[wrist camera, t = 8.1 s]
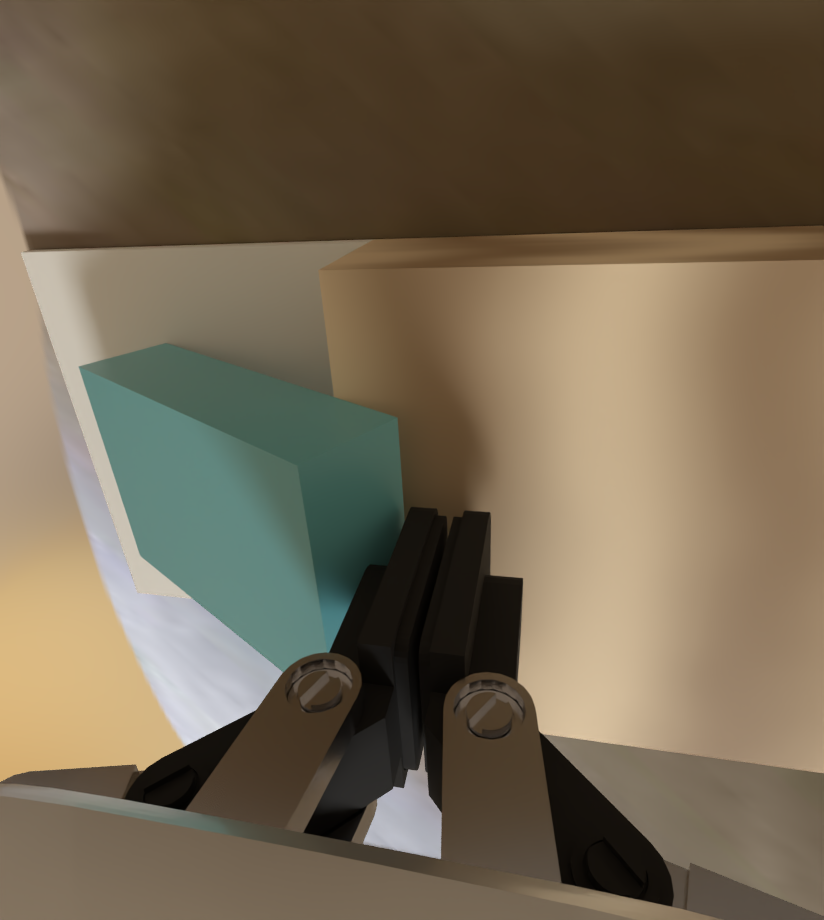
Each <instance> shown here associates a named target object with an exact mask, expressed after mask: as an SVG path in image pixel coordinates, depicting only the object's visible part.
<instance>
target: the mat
mask: <svg viewBox="0 0 824 920" xmlns="http://www.w3.org/2000/svg"><path fill="white" fill-rule="evenodd" d="M372 240H374V239H371V240H339V241H307V242H275V243H243V244H211V245H179V246H147V247H115V248H83V249H50V250H30V251H25V252H21V255H22V258H23V261H24V263H25V266H26V269H27V272H28V275H29V278H30V281H31V284H32V287H33V290H34V293H35V296H36V298H37V301H38V304H39V307H40V310H41V313H42V316H43V319H44V322H45V325H46V328H47V330H48V333H49V336H50V339H51V342H52V345H53V348H54V351H55V354H56V357H57V360H58V362H59V365H60V368H61V371H62V374H63V377H64V380H65V383H66V386H67V389H68V392H69V395H70V397H71V400H72V403H73V406H74V409H75V412H76V415H77V418H78V421H79V424H80V427H81V429H82V432H83V435H84V438H85V441H86V444H87V447H88V450H89V453H90V456H91V459H92V461H93V464H94V467H95V470H96V473H97V476H98V479H99V482H100V485H101V488H102V491H103V493H104V496H105V499H106V502H107V505H108V508H109V511H110V514H111V517H112V520H113V523H114V526H115V528H116V531H117V534H118V537H119V540H120V543H121V546H122V549H123V552H124V555H125V558H126V560H127V563H128V566H129V569H130V572H131V575H132V578H133V581H134V584H135V587H136V590H137V592H138V593H144V594H153V595H162V596H172V597H181V598H191V597H190V596H189V595H188V594H186V593H185V592H184V591H183V590H181V589H180V588H179V587H178V586H177V585H175V584H174V583H173V582H172V581H170V580H169V579H168V578H167V577H165V576H164V575H163V574H162V573H161V572H159V571H158V570H157V569H156V568H154V567H153V566H152V565H151V564H149V563H148V562H147V561H146V560H145V559H143V558H142V557H141V556H140V554H139V551H138V548H137V545H136V542H135V539H134V536H133V532H132V529H131V526H130V523H129V520H128V517H127V514H126V511H125V508H124V505H123V502H122V499H121V496H120V493H119V489H118V486H117V483H116V480H115V477H114V474H113V471H112V468H111V465H110V462H109V459H108V456H107V453H106V450H105V446H104V443H103V440H102V437H101V434H100V431H99V428H98V425H97V422H96V419H95V416H94V413H93V410H92V407H91V403H90V400H89V397H88V394H87V391H86V388H85V385H84V382H83V379H82V376H81V373H80V370H79V367H78V366H82V365H86V364H89V363H93V362H97V361H101V360H104V359H108V358H112V357H115V356H119V355H123V354H127V353H130V352H134V351H138V350H142V349H145V348H149V347H153V346H156V345H160V344H164V343H167V344H171V345H174V346H177V347H180V348H183V349H186V350H189V351H192V352H195V353H199V354H202V355H205V356H208V357H211V358H214V359H217V360H220V361H223V362H227V363H230V364H233V365H236V366H239V367H242V368H245V369H248V370H251V371H255V372H258V373H261V374H264V375H267V376H270V377H273V378H276V379H279V380H283V381H286V382H289V383H292V384H295V385H298V386H301V387H304V388H307V389H311V390H314V391H317V392H320V393H323V394H326V395H329V396H332V397H334V392H333V384H332V376H331V368H330V360H329V352H328V344H327V336H326V328H325V320H324V312H323V304H322V296H321V288H320V280H319V272H318V270H319V269H321V268H323V267H325V266H327V265H329V264H330V263H332V262H334V261H336V260H338V259H339V258H341V257H343V256H345V255H347V254H348V253H350V252H352V251H354V250H356V249H357V248H359V247H361V246H363V245H365V244H367V243H368V242H370V241H372ZM191 599H193V598H191Z"/></svg>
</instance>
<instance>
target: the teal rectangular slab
mask: <svg viewBox="0 0 824 920" xmlns="http://www.w3.org/2000/svg"><path fill="white" fill-rule="evenodd" d="M78 367H79V370H80V373H81V376H82V379H83V382H84V385H85V388H86V391H87V394H88V397H89V400H90V403H91V407H92V410H93V413H94V416H95V419H96V422H97V425H98V428H99V431H100V434H101V437H102V440H103V443H104V446H105V450H106V453H107V456H108V459H109V462H110V465H111V468H112V471H113V474H114V477H115V480H116V483H117V486H118V489H119V493H120V496H121V499H122V502H123V505H124V508H125V511H126V514H127V517H128V520H129V523H130V526H131V529H132V532H133V536H134V539H135V542H136V545H137V548H138V551H139V554H140V556H141V557H142V558H143V559H145V560H146V561H147V562H148V563H149V564H151V565H152V566H153V567H154V568H156V569H157V570H158V571H159V572H161V573H162V574H163V575H164V576H165V577H167V578H168V579H169V580H170V581H172V582H173V583H174V584H175V585H177V586H178V587H179V588H180V589H181V590H183V591H184V592H185V593H186V594H188V595H189V596H190V597H191V598H193V599H194V600H195V601H196V602H198V603H199V604H200V605H201V606H202V607H204V608H205V609H206V610H207V611H209V612H210V613H211V614H212V615H214V616H215V617H216V618H217V619H218V620H220V621H221V622H222V623H223V624H225V625H226V626H227V627H228V628H230V629H231V630H232V631H233V632H234V633H236V634H237V635H238V636H239V637H241V638H242V639H243V640H244V641H246V642H247V643H248V644H249V645H250V646H252V647H253V648H254V649H255V650H257V651H258V652H259V653H260V654H262V655H263V656H264V657H265V658H267V659H268V660H269V661H270V662H271V663H273V664H274V665H275V666H276V667H278V668H279V669H280V670H281V671H283V672H284V671H285V670H286V669H287V668H288V667H289V666H290V665H291V664H293V663H295V662H296V661H298V660H299V659H301V658H303V657H306V656H309V655H312V654H316V653H324V652H328V653H329V651H330V649H331V647H332V644H333V642H334V640H335V637H336V635H337V633H338V631H339V628H340V626H341V624H342V622H343V619H344V617H345V615H346V612H347V610H348V608H349V606H350V603H351V601H352V599H353V597H354V594H355V592H356V590H357V587H358V585H359V583H360V581H361V578H362V576H363V574H364V572H365V570H366V568H367V566H369V565H370V564H372V565H383V566H388V563H389V560H390V558H391V555H392V553H393V550H394V548H395V545H396V543H397V540H398V537H399V535H400V532H401V530H402V527H403V525H404V522H405V518H404V503H403V489H402V474H401V460H400V446H399V431H398V417H394V416H391V415H388V414H385V413H382V412H379V411H376V410H373V409H370V408H366V407H363V406H360V405H357V404H354V403H351V402H348V401H345V400H342V399H338V398H335V397H332V396H329V395H326V394H323V393H320V392H317V391H314V390H311V389H307V388H304V387H301V386H298V385H295V384H292V383H289V382H286V381H283V380H279V379H276V378H273V377H270V376H267V375H264V374H261V373H258V372H255V371H251V370H248V369H245V368H242V367H239V366H236V365H233V364H230V363H227V362H223V361H220V360H217V359H214V358H211V357H208V356H205V355H202V354H199V353H195V352H192V351H189V350H186V349H183V348H180V347H177V346H174V345H171V344H167V343H164V344H160V345H156V346H153V347H149V348H145V349H142V350H138V351H134V352H130V353H127V354H123V355H119V356H115V357H112V358H108V359H104V360H101V361H97V362H93V363H89V364H86V365H82V366H78Z"/></svg>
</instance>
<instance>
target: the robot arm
mask: <svg viewBox="0 0 824 920" xmlns="http://www.w3.org/2000/svg"><path fill="white" fill-rule="evenodd" d="M490 564H491V513H490V512H481V511H467V510H465V511H464V513H463V516H462V517H453V520H452V524H451V528H450V531H449V535H448V530H447V517H446V516H440V515H438V510H437V508H423V507H411V508H410V510H409V512H408V515H407V517H406V520H405V522H404V525H403V527H402V530H401V532H400V535H399V537H398V540H397V543H396V545H395V548H394V550H393V553H392V555H391V558H390V560H389V563H388V566H383V565H372V564H370V565H369V566H367V568H366V570H365V572H364V574H363V576H362V578H361V581H360V583H359V585H358V587H357V590H356V592H355V594H354V597H353V599H352V601H351V603H350V606H349V608H348V610H347V612H346V615H345V617H344V619H343V622H342V624H341V626H340V628H339V631H338V633H337V635H336V637H335V640H334V642H333V644H332V647H331V649H330V651H329V653H328V652H324V653H316V654H312V655H309V656H306V657H303V658H301V659H299V660H298V661H296V662H295V663H293V664H291V665H290V666H289V667H288V668H287V669H286V670H285V671H284V672H283V674H282V675H281V676H280V677H279V679H278V680H277V682H276V683H275V685H274V686H273V687H272V689H271V690H270V692H269V693H268V694H267V696H266V697H265V699H264V700H263V701H262V703H261V704H260V706H259V707H258V709H257V710H256V711H254V712H252V713H250V714H248V715H246V716H244V717H242V718H240V719H238V720H236V721H234V722H232V723H230V724H228V725H226V726H224V727H222V728H220V729H218V730H216V731H214V732H212V733H210V734H208V735H206V736H205V737H203V738H201V739H199V740H197V741H195V742H193V743H191V744H189V745H187V746H185V747H183V748H181V749H179V750H177V751H175V752H173V753H171V754H169V755H167V756H165V757H163V758H161V759H160V760H158V761H157V762H155V763H154V764H152V765H150V766H149V767H148V768H147V769H146V770H145V771H138V769H137V766H136V765H122V766H107V767H92V768H76V769H61V770H46V771H31V772H26V773H21V774H17V775H13V776H12V777H10V778H7V779H6V780H3V781H1V782H0V920H824V916H822V915H819V914H817V913H814V912H812V911H809V910H807V909H804V908H802V907H799V906H797V905H794V904H792V903H789V902H787V901H784V900H782V899H779V898H777V897H774V896H772V895H769V894H767V893H764V892H762V891H759V890H757V889H754V888H752V887H749V886H747V885H744V884H742V883H739V882H737V881H734V880H732V879H729V878H727V877H724V876H722V875H719V874H717V873H715V872H712V871H710V870H707V869H705V868H702V867H700V866H697V865H695V864H692V863H690V865H689V869H685V868H683V867H680V866H678V865H675V864H673V863H670V862H668V861H665V860H663V858H662V857H661V855H660V854H659V853H658V852H657V850H656V849H655V848H654V846H653V845H652V844H651V843H650V842H649V841H648V840H647V839H646V838H645V837H644V836H643V835H642V834H641V833H640V832H639V831H638V830H637V829H636V828H635V827H634V826H633V825H632V824H631V823H630V822H629V821H628V820H627V819H626V818H625V817H624V816H623V815H622V814H621V813H620V812H619V811H618V810H617V809H616V808H615V807H614V806H613V805H612V804H611V803H610V802H609V801H608V800H607V799H606V798H605V797H604V796H603V795H602V794H601V793H600V792H599V791H598V790H597V789H596V788H595V787H594V786H593V785H592V784H591V783H590V782H589V781H588V780H587V779H586V778H585V777H584V776H583V775H582V774H581V773H580V772H579V771H578V770H577V769H576V768H575V767H574V766H573V765H572V764H571V763H570V762H569V761H568V760H567V759H566V758H565V757H564V756H563V755H562V754H561V753H560V752H559V751H558V750H557V749H556V748H555V747H554V746H553V744H552V743H551V742H550V741H549V740H548V739H547V738H546V737H545V736H544V735H543V734H542V733H541V732H540V731H539V728H538V721H537V715H536V708H535V705H534V702H533V699H532V697H531V695H530V694H529V693H528V691H527V690H526V689H525V687H524V686H522V685H521V684H520V683H518V669H519V654H520V639H521V621H522V600H523V578H516V577H505V576H494V575H490ZM423 746H424V756H425V770H426V772H428V788H429V796H430V797H431V798H432V800H433V801H434V803H435V804H436V805H437V807H438V808H439V810H440V811H441V812H442V836H441V859H436V858H431V857H426V856H420V855H415V854H410V853H405V852H400V851H395V850H389V849H384V848H379V847H374V846H369V845H363V844H362V843H363V841H364V839H365V836H366V834H367V832H368V829H369V827H370V825H371V822H372V820H373V818H374V815H375V811H376V807H377V799H378V798H379V797H381V796H382V795H384V794H386V793H387V792H389V791H390V790H392V789H393V786H394V787H400V788H404V785H405V780H406V776H407V772H408V769H410V770H418V768H419V764H420V760H421V755H422V751H423Z"/></svg>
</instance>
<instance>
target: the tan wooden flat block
mask: <svg viewBox="0 0 824 920" xmlns="http://www.w3.org/2000/svg"><path fill="white" fill-rule="evenodd" d="M318 272H319V280H320V288H321V296H322V304H323V312H324V320H325V328H326V336H327V344H328V352H329V360H330V368H331V376H332V384H333V392H334V397H335V398H338V399H342V400H345V401H348V402H351V403H354V404H357V405H360V406H363V407H366V408H370V409H373V410H376V411H379V412H382V413H385V414H388V415H391V416H394V417H398V431H399V446H400V460H401V474H402V489H403V503H404V518H405V520H406V517H407V515H408V512H409V510H410V508H411V507H423V508H437V510H438V515H440V516H446V517H447V530H448V535H449V531H450V528H451V524H452V520H453V517H462V516H463V513H464V511H465V510H467V511H481V512H490V513H491V564H490V575H494V576H505V577H516V578H523V600H522V621H521V639H520V654H519V669H518V683H520V684H521V685H522V686H524V687H525V689H526V690H527V691H528V693H529V694H530V695H531V697H532V699H533V702H534V705H535V708H536V715H537V721H538V728H539V731H540V732H541V733H542V734H548V735H555V736H562V737H569V738H576V739H583V740H590V741H598V742H605V743H612V744H619V745H626V746H633V747H640V748H647V749H655V750H662V751H669V752H676V753H683V754H690V755H697V756H704V757H712V758H719V759H726V760H733V761H740V762H747V763H754V764H761V765H769V766H776V767H783V768H790V769H797V770H804V771H811V772H818V773H824V225H820V226H788V227H756V228H724V229H692V230H660V231H628V232H596V233H564V234H532V235H500V236H467V237H435V238H403V239H374V240H372V241H370V242H368V243H367V244H365V245H363V246H361V247H359V248H357V249H356V250H354V251H352V252H350V253H348V254H347V255H345V256H343V257H341V258H339V259H338V260H336V261H334V262H332V263H330V264H329V265H327V266H325V267H323V268H321V269H319V270H318Z"/></svg>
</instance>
